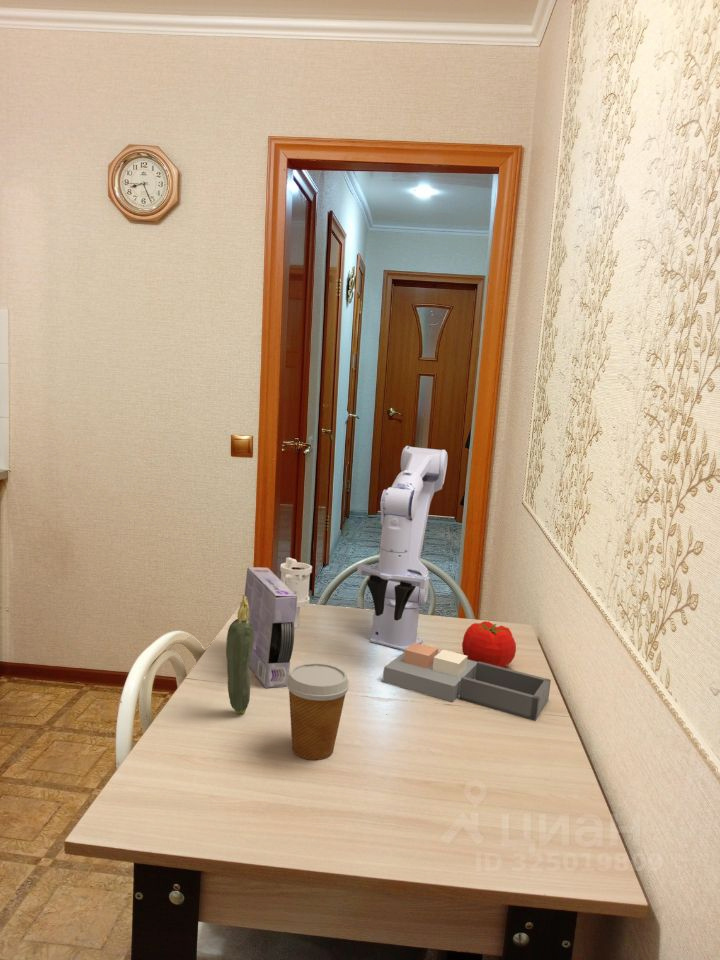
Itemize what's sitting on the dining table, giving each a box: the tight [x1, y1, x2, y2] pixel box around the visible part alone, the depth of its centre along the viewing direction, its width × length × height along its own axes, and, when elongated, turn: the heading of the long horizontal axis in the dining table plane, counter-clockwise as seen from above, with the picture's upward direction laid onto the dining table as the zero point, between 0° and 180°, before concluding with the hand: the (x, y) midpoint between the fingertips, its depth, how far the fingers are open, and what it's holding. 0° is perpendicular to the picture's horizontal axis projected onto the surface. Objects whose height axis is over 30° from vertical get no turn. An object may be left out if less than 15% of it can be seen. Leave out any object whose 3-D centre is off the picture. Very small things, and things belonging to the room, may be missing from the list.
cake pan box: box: [243, 566, 297, 689], centre depth 135 cm, size 19×5×18 cm, turn 25°
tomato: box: [461, 621, 517, 668], centre depth 147 cm, size 11×11×9 cm
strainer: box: [279, 557, 313, 629], centre depth 160 cm, size 7×7×15 cm
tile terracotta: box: [403, 642, 439, 669], centre depth 138 cm, size 5×5×2 cm
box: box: [458, 661, 552, 722], centre depth 131 cm, size 14×10×4 cm
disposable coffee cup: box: [286, 662, 351, 761], centre depth 107 cm, size 10×10×12 cm
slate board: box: [382, 651, 477, 703], centre depth 138 cm, size 14×14×3 cm
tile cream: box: [433, 649, 468, 677], centre depth 136 cm, size 5×5×2 cm
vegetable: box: [225, 594, 254, 714], centre depth 116 cm, size 4×4×20 cm
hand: (388, 616), depth 140 cm, fingers open, 3 cm apart
